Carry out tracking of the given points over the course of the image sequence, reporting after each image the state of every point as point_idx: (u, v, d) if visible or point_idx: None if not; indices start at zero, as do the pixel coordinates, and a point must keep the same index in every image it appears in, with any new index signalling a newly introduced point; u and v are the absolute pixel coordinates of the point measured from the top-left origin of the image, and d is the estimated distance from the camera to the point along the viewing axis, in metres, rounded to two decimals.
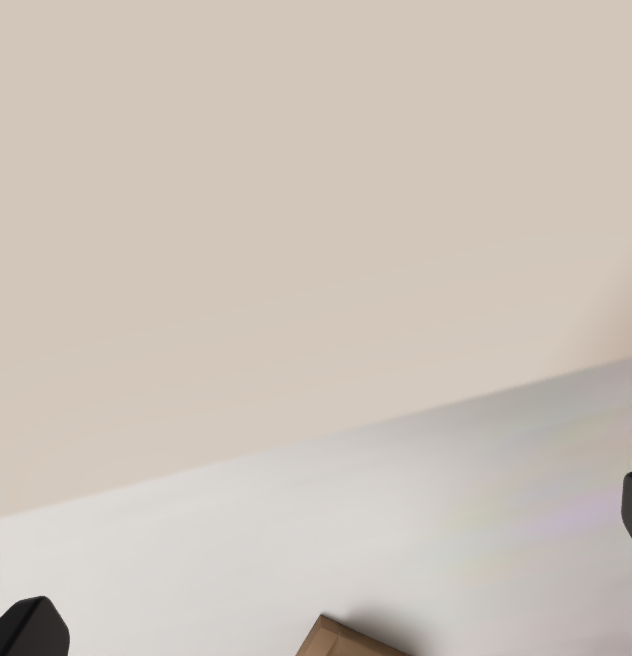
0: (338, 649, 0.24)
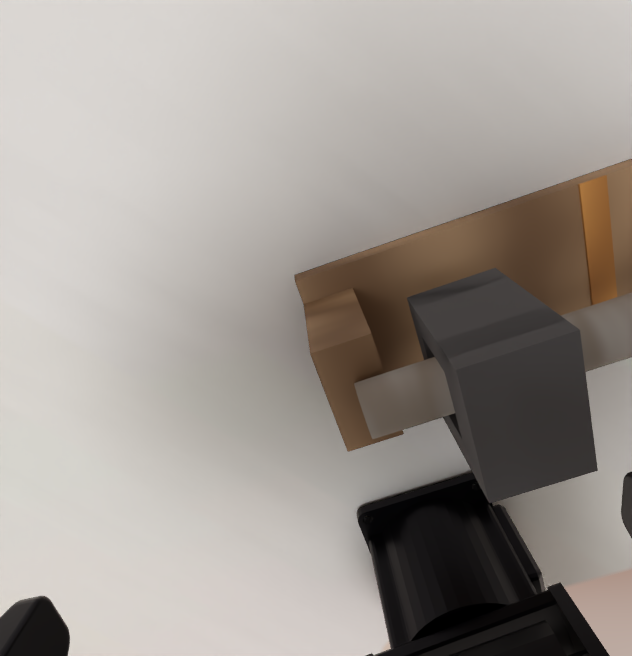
0: None
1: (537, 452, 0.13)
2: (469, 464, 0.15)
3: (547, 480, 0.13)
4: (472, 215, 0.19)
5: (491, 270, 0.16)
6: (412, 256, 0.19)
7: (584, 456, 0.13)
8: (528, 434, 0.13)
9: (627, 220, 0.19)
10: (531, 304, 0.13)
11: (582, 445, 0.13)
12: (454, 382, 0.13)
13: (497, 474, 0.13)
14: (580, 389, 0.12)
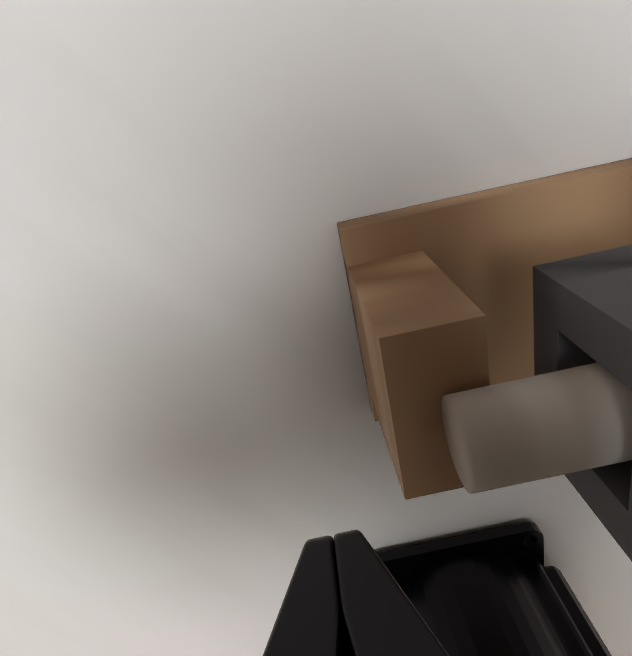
0: None
1: None
2: (631, 552, 0.09)
3: None
4: (607, 165, 0.13)
5: None
6: (517, 214, 0.13)
7: None
8: None
9: None
10: None
11: None
12: None
13: None
14: None
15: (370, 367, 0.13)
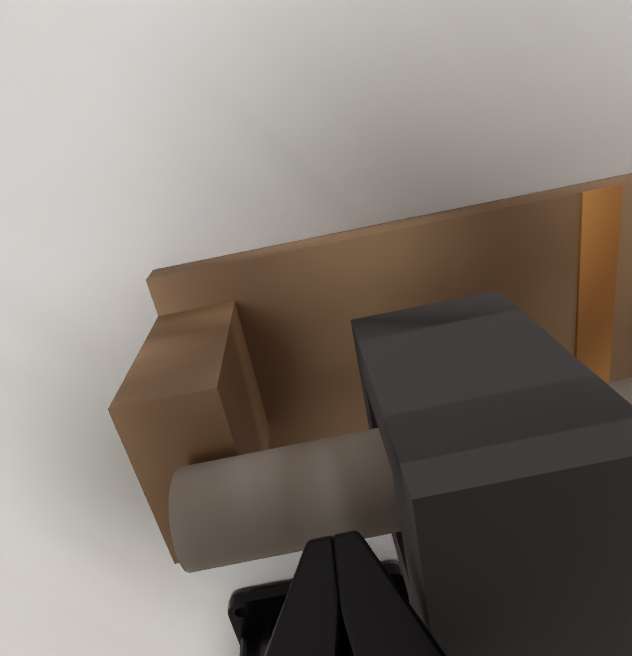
0: None
1: (545, 652, 0.07)
2: None
3: None
4: (423, 217, 0.13)
5: (491, 294, 0.10)
6: (328, 266, 0.13)
7: None
8: (536, 621, 0.07)
9: None
10: (566, 367, 0.07)
11: (628, 645, 0.07)
12: (406, 509, 0.06)
13: None
14: None
15: None
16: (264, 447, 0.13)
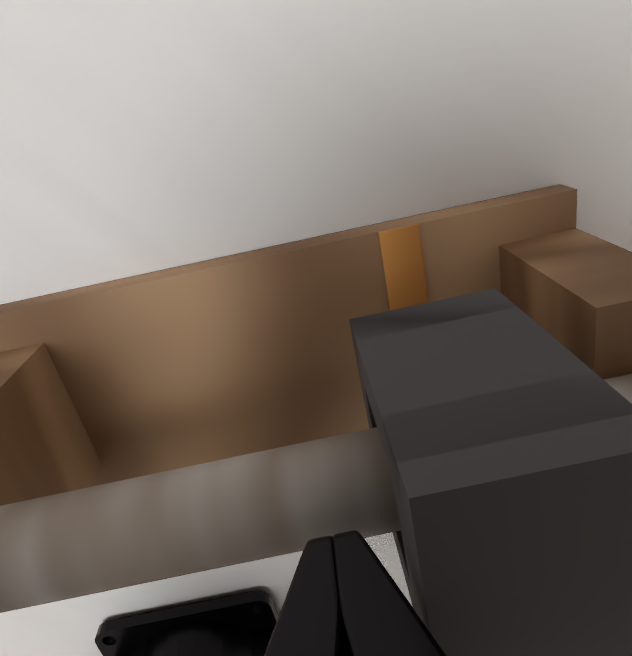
0: (588, 236, 0.12)
1: (546, 650, 0.07)
2: None
3: None
4: (230, 257, 0.13)
5: (490, 292, 0.10)
6: (132, 308, 0.13)
7: None
8: (535, 620, 0.07)
9: (451, 291, 0.13)
10: (564, 364, 0.07)
11: (629, 643, 0.07)
12: (404, 508, 0.06)
13: None
14: None
15: None
16: (76, 487, 0.13)
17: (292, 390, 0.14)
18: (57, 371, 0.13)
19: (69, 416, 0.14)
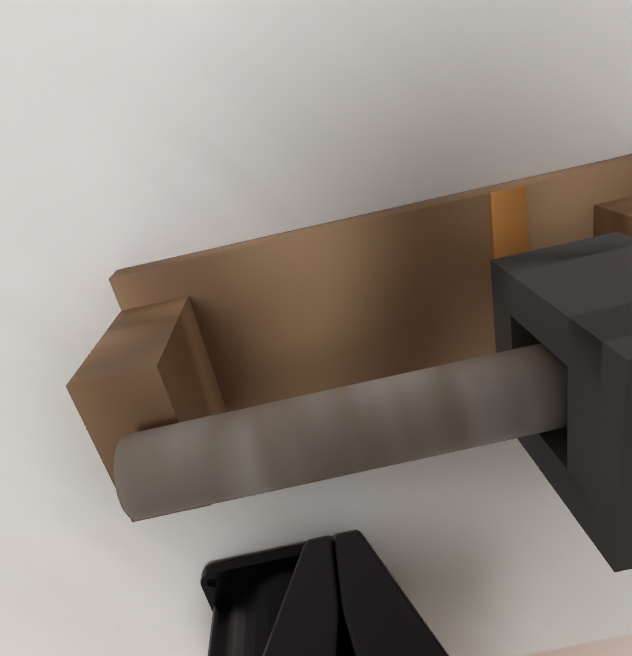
0: None
1: None
2: (571, 506, 0.10)
3: None
4: (354, 218, 0.15)
5: (613, 234, 0.12)
6: (269, 263, 0.14)
7: None
8: None
9: None
10: None
11: None
12: (602, 382, 0.08)
13: None
14: None
15: None
16: None
17: (401, 340, 0.16)
18: (197, 322, 0.15)
19: (207, 363, 0.15)
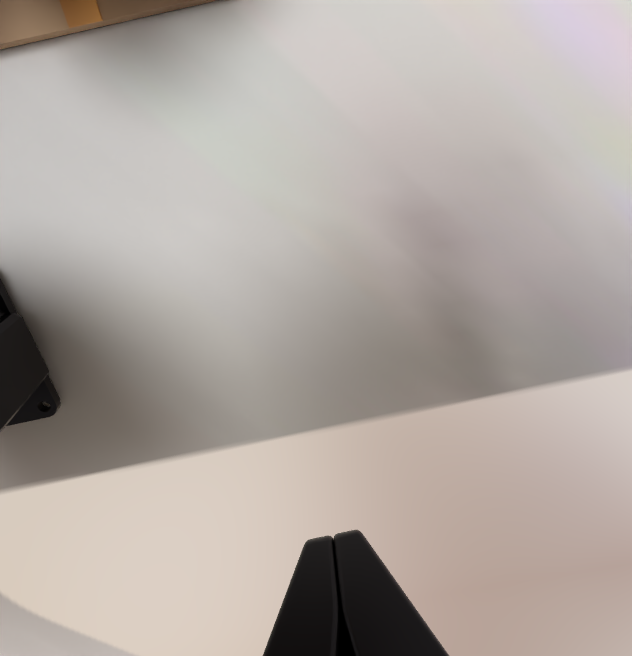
0: None
1: None
2: None
3: None
4: None
5: None
6: None
7: None
8: None
9: None
10: None
11: None
12: None
13: None
14: None
15: None
16: None
17: None
18: None
19: None
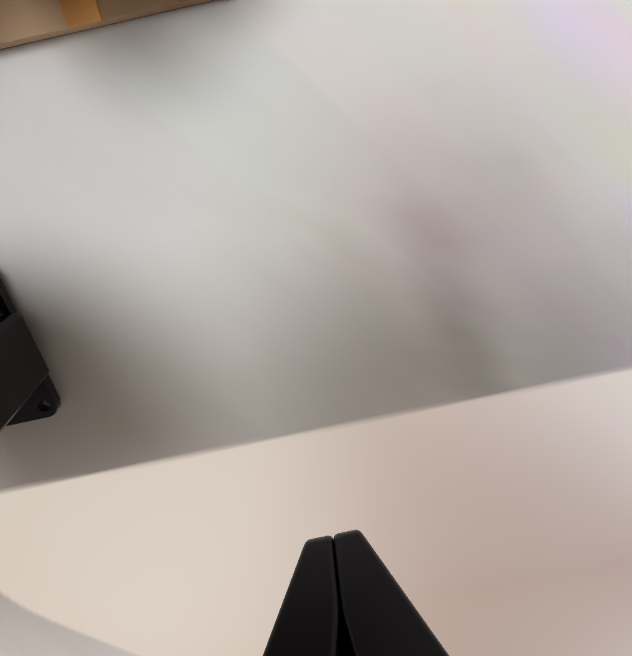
0: None
1: None
2: None
3: None
4: None
5: None
6: None
7: None
8: None
9: None
10: None
11: None
12: None
13: None
14: None
15: None
16: None
17: None
18: None
19: None
